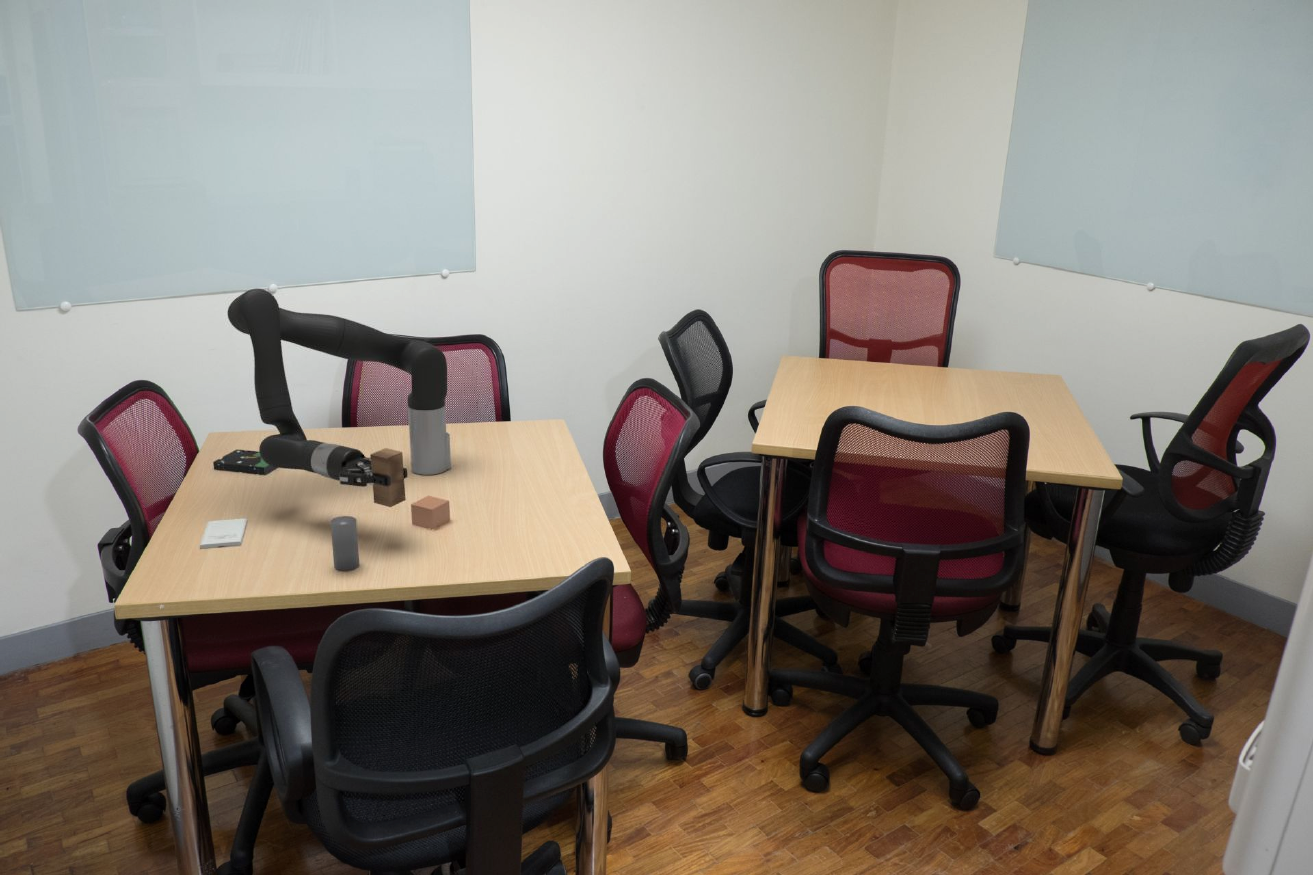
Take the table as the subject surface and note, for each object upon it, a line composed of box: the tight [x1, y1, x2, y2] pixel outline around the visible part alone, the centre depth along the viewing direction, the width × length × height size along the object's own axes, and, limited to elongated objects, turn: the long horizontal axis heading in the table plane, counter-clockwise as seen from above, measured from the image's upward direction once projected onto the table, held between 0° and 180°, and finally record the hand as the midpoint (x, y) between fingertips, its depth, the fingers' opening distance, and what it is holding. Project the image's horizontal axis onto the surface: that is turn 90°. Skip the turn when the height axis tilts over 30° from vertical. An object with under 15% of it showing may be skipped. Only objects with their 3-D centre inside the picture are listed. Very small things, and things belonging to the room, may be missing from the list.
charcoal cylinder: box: [329, 515, 360, 572], centre depth 205 cm, size 5×5×10 cm
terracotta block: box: [410, 495, 451, 530], centre depth 227 cm, size 6×6×5 cm
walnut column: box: [369, 447, 406, 508], centre depth 212 cm, size 5×5×11 cm
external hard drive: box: [199, 518, 248, 550], centre depth 219 cm, size 2×8×12 cm
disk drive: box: [212, 449, 278, 476], centre depth 258 cm, size 10×3×15 cm
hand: (397, 477), depth 211 cm, fingers closed on walnut column, 4 cm apart
